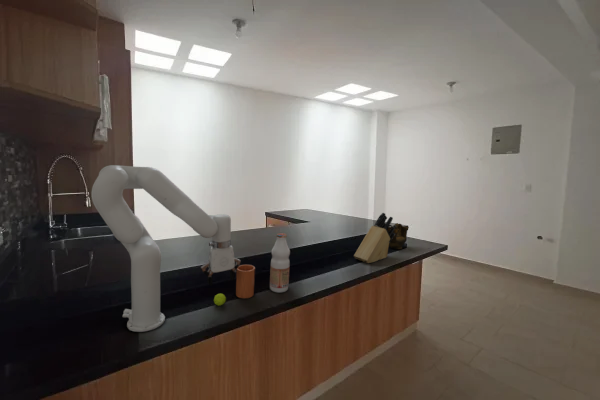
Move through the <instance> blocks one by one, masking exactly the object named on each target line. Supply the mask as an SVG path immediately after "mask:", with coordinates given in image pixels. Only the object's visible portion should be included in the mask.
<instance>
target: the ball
mask: <svg viewBox="0 0 600 400" xmlns="http://www.w3.org/2000/svg"><path fill="white" fill-rule="evenodd" d="M226 301H227V297H226V295H225V294H224V293H221V292H220V293H217V294H216V295H214V297H213V303H214V305H216V306H218V307H219V306H223V305H224V304H225V303H226Z"/></svg>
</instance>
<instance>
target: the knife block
mask: <svg viewBox="0 0 600 400" xmlns="http://www.w3.org/2000/svg"><path fill="white" fill-rule="evenodd" d="M392 221H393V217H392V216H389V218H388V217H387V215H386V213H385V212H381V214H380V215H379V216H378V217H377V219H376V221H375V223H374V225H371V226H370V228H369V229H368V231H367V233H366V234H365V236H364V237H363V240H362V241H361V243H360V245H359V246H358V248H357V249H356V251H355V253H354V254H353V257H354V259H355V260H357V261H361V262H363V263H367V264H372V263H374V262H377V261H381V260H382V259H386V258H388V253H389V247H390V246H389V243H390V242H391V240H392V239H393V237H394V236H395V233H393V231H394V229H395V227H396V226H395V224H394V225H391V223H392ZM392 226H393V227H392ZM389 227H391V229H390V231H387V230H388V228H389Z"/></svg>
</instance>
